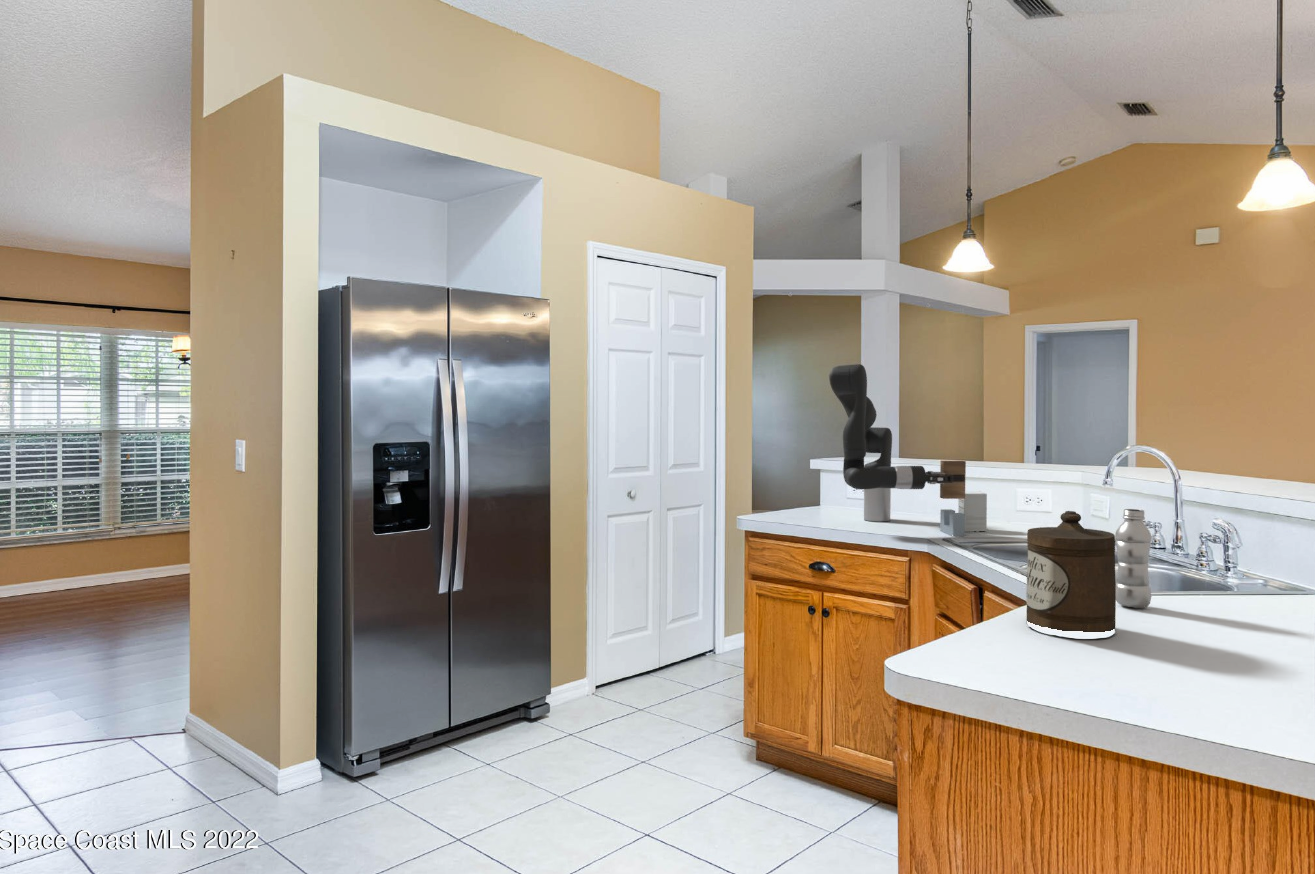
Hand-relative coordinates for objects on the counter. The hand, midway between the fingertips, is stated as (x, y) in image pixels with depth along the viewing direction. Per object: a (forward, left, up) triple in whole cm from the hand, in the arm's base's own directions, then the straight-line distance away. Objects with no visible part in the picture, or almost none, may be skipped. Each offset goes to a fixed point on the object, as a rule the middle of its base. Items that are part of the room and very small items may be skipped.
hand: (961, 477), depth 265 cm
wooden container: (+112, -21, -18) cm, 116 cm away
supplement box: (-7, +6, -18) cm, 21 cm away
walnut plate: (0, -3, -7) cm, 7 cm away
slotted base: (0, -3, -18) cm, 18 cm away
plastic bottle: (+96, 0, -18) cm, 98 cm away
